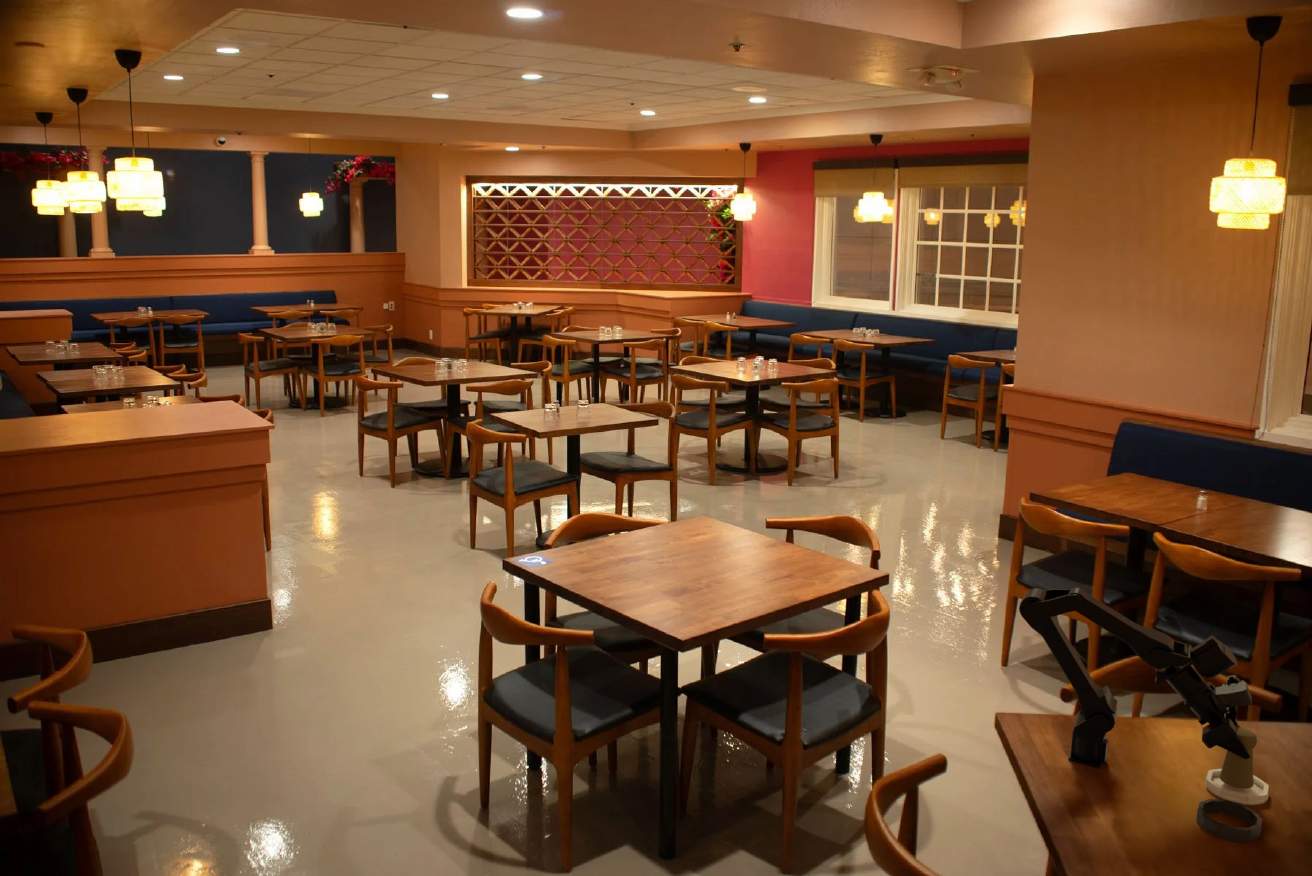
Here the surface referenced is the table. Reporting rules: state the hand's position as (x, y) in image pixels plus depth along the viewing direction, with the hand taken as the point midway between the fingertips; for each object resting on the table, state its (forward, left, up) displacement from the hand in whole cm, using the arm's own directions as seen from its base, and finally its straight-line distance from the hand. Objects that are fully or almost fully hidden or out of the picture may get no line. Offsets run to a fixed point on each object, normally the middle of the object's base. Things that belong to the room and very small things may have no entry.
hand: (1247, 752), depth 210 cm
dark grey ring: (-1, -16, -9) cm, 18 cm away
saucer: (-1, 0, -9) cm, 9 cm away
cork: (-1, 0, -7) cm, 7 cm away
